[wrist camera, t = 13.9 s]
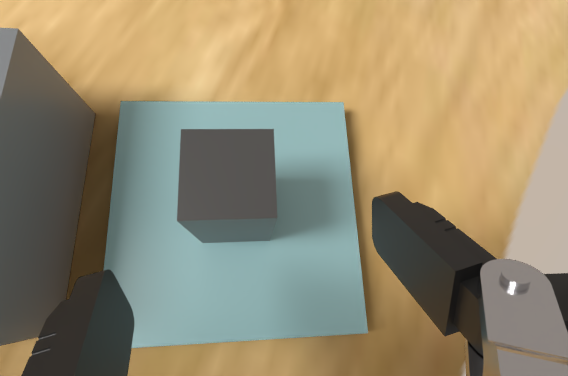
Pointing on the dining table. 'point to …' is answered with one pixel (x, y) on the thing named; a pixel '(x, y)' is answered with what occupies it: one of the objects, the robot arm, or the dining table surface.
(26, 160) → the tub
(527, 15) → the dining table surface
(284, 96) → the dining table surface
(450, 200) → the dining table surface
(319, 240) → the lid
